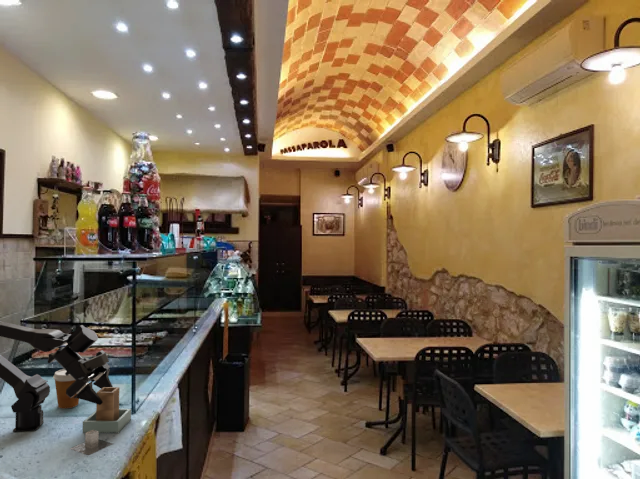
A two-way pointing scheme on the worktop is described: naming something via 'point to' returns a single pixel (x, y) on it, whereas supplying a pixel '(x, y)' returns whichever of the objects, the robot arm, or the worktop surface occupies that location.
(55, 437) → the worktop surface
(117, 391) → the sleeve
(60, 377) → the disposable coffee cup
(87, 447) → the stake base
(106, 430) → the tray
